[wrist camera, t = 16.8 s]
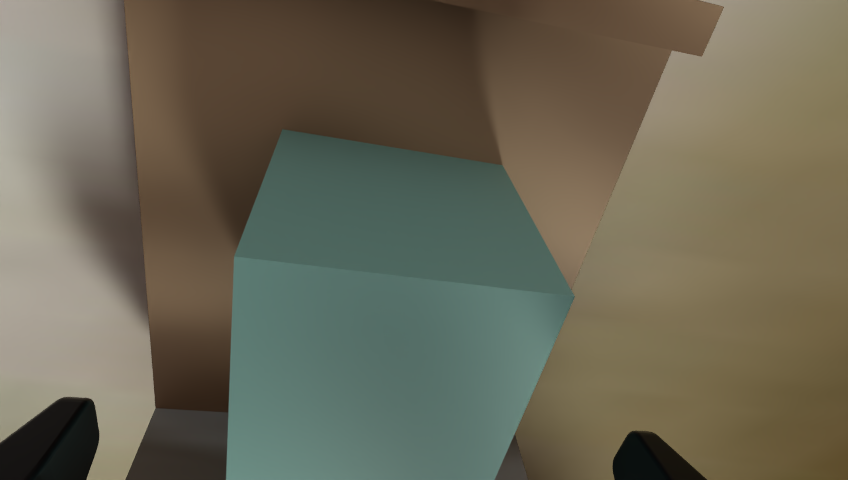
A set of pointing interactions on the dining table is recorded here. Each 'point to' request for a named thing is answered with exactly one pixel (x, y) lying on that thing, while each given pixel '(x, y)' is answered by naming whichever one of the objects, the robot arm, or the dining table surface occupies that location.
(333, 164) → the block
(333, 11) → the cart
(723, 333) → the dining table surface
